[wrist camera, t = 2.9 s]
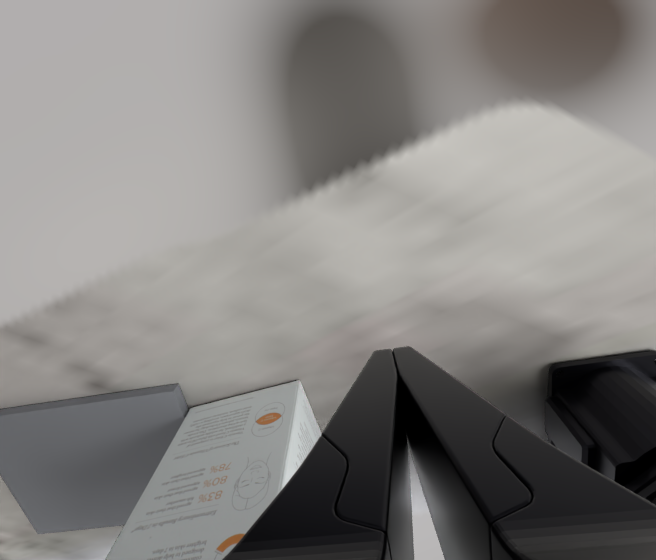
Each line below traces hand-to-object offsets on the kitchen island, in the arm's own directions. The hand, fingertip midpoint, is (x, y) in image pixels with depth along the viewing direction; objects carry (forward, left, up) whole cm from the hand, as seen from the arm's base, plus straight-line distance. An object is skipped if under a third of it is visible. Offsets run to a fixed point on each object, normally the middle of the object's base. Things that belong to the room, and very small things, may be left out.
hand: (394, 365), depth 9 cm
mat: (+21, +13, -13) cm, 28 cm away
